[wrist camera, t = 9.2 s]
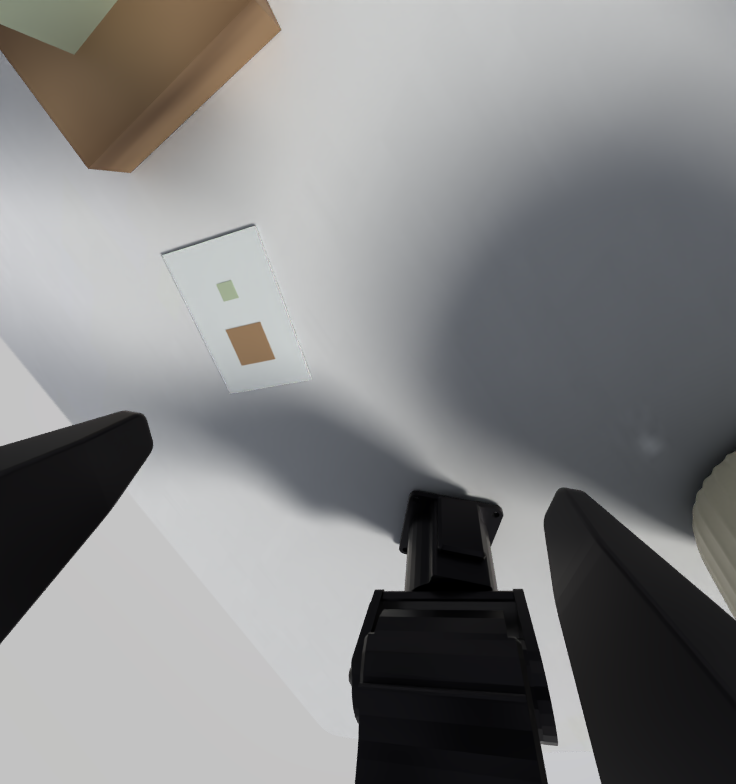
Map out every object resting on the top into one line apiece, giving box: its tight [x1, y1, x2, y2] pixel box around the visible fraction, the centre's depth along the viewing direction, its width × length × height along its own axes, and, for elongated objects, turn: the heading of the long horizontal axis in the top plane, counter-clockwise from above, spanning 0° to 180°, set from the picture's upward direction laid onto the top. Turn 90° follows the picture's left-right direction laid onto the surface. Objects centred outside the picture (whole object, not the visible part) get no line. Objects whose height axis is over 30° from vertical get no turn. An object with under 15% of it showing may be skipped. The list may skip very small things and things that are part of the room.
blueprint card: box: [162, 226, 312, 394], centre depth 20 cm, size 9×6×1 cm, turn 15°
